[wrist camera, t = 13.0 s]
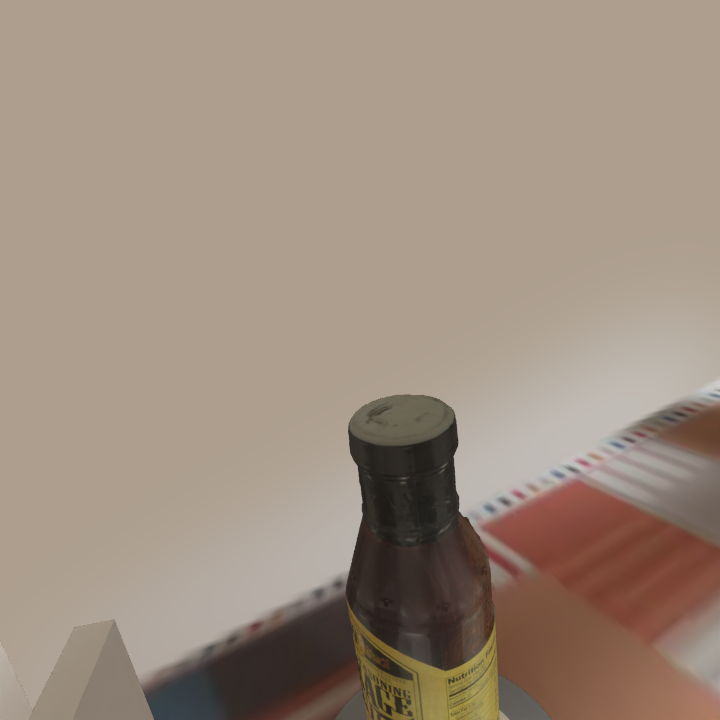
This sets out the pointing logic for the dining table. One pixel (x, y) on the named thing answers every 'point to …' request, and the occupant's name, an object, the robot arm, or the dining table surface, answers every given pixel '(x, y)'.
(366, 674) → the sauce bottle
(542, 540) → the dining table surface
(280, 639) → the dining table surface
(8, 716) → the milk
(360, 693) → the grey round coaster
